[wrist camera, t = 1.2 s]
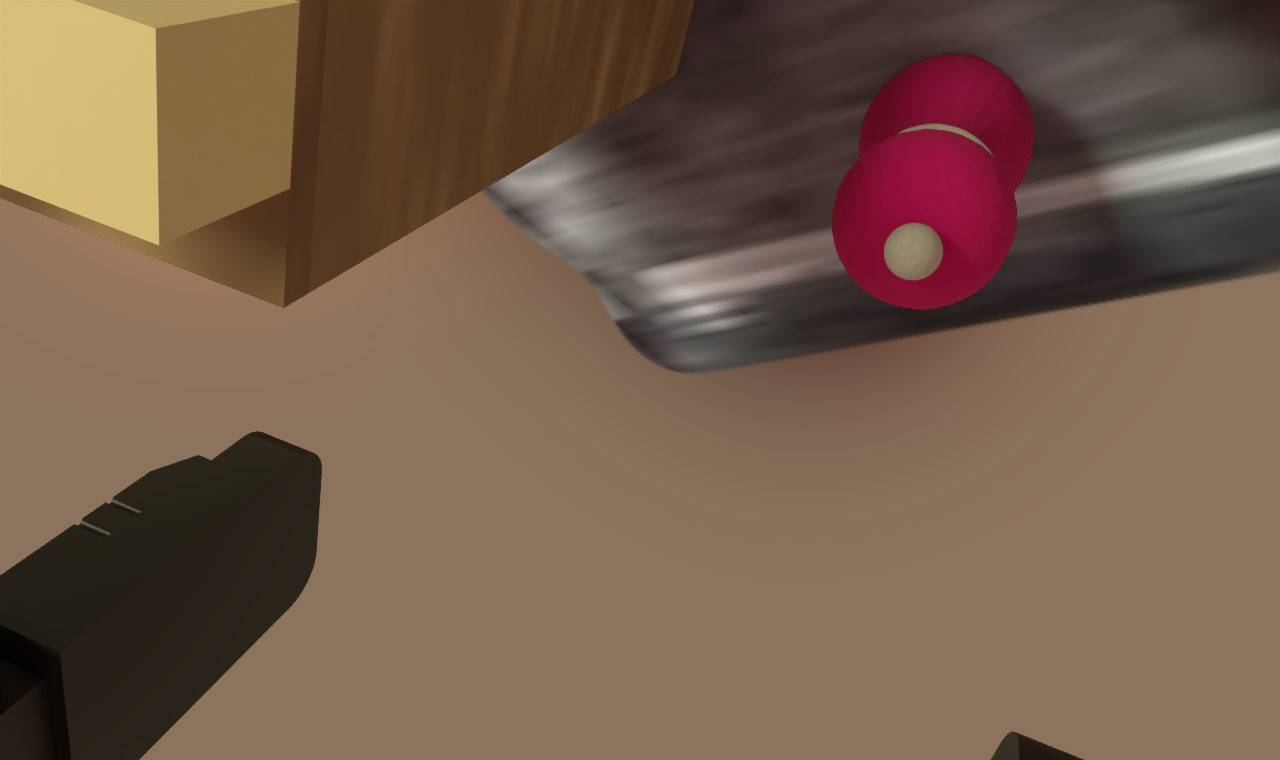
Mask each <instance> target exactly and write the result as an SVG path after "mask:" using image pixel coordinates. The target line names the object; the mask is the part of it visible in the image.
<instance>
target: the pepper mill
mask: <svg viewBox="0 0 1280 760" xmlns="http://www.w3.org/2000/svg"><path fill="white" fill-rule="evenodd" d="M1033 144H1034V126H1033V120H1032V115H1031V112H1030V109H1029V106H1028V104H1027V101H1026V99H1025V98H1024V96H1023V94H1022V93H1021V91H1020V89H1019V88H1018V87H1017V86H1016V85H1015V84H1014V82H1013V81H1012V80H1011V79H1010V78H1009V77H1007V76H1006V75H1005V74H1004V73H1003V72H1002V71H1001V70H1000V69H999V68H998V67H996V66H995V65H993V64H992V63H990V62H988V61H986V60H984V59H981V58H979V57H976V56H973V55H966V54H946V55H941V56H937V57H933V58H930V59H926V60H924V61H921V62H918V63H915V64H913V65H911V66H909V67H907V68H906V69H904V70H903V71H901V72H899V73H898V74H896V75H895V76H894V77H893V78H892V79H890V80H889V81H888V82H887V83H886V84H885V85H884V86H883V87H882V89H881V90H880V91H879V92H878V93H877V95H876V96H875V98H874V99H873V101H872V103H871V104H870V106H869V109H868V111H867V113H866V116H865V118H864V122H863V126H862V129H861V135H860V142H859V156H860V157H859V158H858V160H857V161H856V162H855V163H854V165H853V166H852V167H851V169H850V170H849V171H848V173H847V174H846V175H845V177H844V179H843V181H842V183H841V185H840V187H839V189H838V192H837V195H836V199H835V202H834V209H833V218H832V232H833V238H834V244H835V247H836V250H837V253H838V256H839V258H840V260H841V262H842V264H843V266H844V267H845V269H846V271H847V273H848V274H849V275H850V277H851V278H852V279H853V280H854V281H855V282H856V283H857V284H858V285H859V286H860V288H862V289H863V290H865V291H866V292H868V293H869V294H871V295H872V296H874V297H875V298H877V299H879V300H881V301H883V302H886V303H888V304H891V305H895V306H898V307H902V308H910V309H921V310H922V309H932V308H938V307H942V306H946V305H950V304H953V303H956V302H958V301H961V300H963V299H965V298H967V297H969V296H971V295H972V294H974V293H975V292H977V291H978V290H979V289H980V288H982V287H983V286H984V285H985V284H987V283H988V282H989V281H990V280H991V278H992V277H993V276H994V275H995V274H996V273H997V271H998V270H999V269H1000V267H1001V266H1002V264H1003V262H1004V260H1005V258H1006V256H1007V254H1008V253H1009V250H1010V248H1011V245H1012V242H1013V240H1014V236H1015V231H1016V226H1017V207H1016V202H1015V197H1014V192H1015V190H1016V189H1017V187H1018V186H1019V184H1020V182H1021V181H1022V179H1023V178H1024V176H1025V173H1026V170H1027V167H1028V164H1029V161H1030V158H1031V155H1032V150H1033Z"/></svg>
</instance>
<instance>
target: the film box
mask: <svg viewBox="0 0 1280 760" xmlns="http://www.w3.org/2000/svg"><path fill="white" fill-rule="evenodd" d="M299 9H300V2H298V1H295V0H0V184H1V185H3V186H6V187H8V188H11V189H14V190H16V191H19V192H21V193H24V194H27V195H29V196H32V197H34V198H37V199H40V200H42V201H45V202H47V203H50V204H53V205H55V206H58V207H60V208H63V209H66V210H68V211H71V212H73V213H76V214H79V215H81V216H84V217H86V218H89V219H92V220H94V221H97V222H99V223H102V224H104V225H107V226H110V227H112V228H115V229H117V230H120V231H123V232H125V233H128V234H130V235H133V236H136V237H138V238H141V239H143V240H146V241H149V242H151V243H154V244H156V245H162V244H164V243H166V242H168V241H171V240H173V239H175V238H178V237H180V236H182V235H185V234H187V233H189V232H191V231H194V230H196V229H198V228H201V227H203V226H205V225H208V224H210V223H212V222H214V221H217V220H219V219H221V218H224V217H226V216H228V215H230V214H233V213H235V212H237V211H240V210H242V209H244V208H247V207H249V206H251V205H253V204H256V203H258V202H260V201H263V200H265V199H267V198H270V197H272V196H274V195H276V194H279V193H281V192H283V191H286V190H288V189H290V179H291V161H292V142H293V123H294V104H295V85H296V66H297V47H298V28H299Z"/></svg>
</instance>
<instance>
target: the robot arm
mask: <svg viewBox="0 0 1280 760" xmlns="http://www.w3.org/2000/svg"><path fill="white" fill-rule="evenodd" d="M321 476H322V465H321V461H320V458H319V457H318V456H317V455H316V454H315V453H312V452H310V451H307V450H305V449H302V448H300V447H298V446H295V445H292V444H290V443H288V442H285V441H283V440H280V439H278V438H275V437H273V436H270V435H268V434H265V433H263V432H258V431H257V432H252V433H249V434H247V435H246V436H244V437H243V438H241V439H240V440H239V441H237V442H236V443H235V444H233V445H232V446H230V447H229V448H228V449H226V450H225V451H224V452H222V453H221V454H219V455H218V456H217V457H215V458H214V459H213V460H209V459H206V458H204V457H202V456H199V455H197V456H194V457H191V458H189V459H185V460H182V461H179V462H177V463H174V464H171V465H168V466H165V467H162V468H159V469H156V470H153V471H150V472H149V473H147V474H146V475H145V476H144V477H142V478H140V479H139V480H137V481H136V482H134V483H133V484H132V485H130V486H129V487H127V488H126V489H124V490H123V491H121V492H120V493H119V494H117V495H116V496H114V497H113V500H112V502H111V503H110V504H108V503H104V504H103V505H101V506H100V507H98V508H97V509H96V510H94V511H93V512H91V513H90V514H88V515H87V516H85V517H84V518H83V519H82V522H81V524H80V525H78V526H77V525H75V524H74V525H72V526H71V527H70V528H68V529H67V530H65V531H64V532H62V533H61V534H59V535H58V536H57V537H55V538H54V539H52V540H51V541H49V542H48V543H46V544H45V545H44V546H42V547H41V548H40V549H38V550H36V551H35V552H33V553H32V554H31V555H29V556H28V557H26V558H25V559H23V560H22V561H20V562H19V563H18V564H16V565H15V566H13V567H12V568H10V569H9V570H7V571H6V572H5V573H4V574H2V575H0V760H139V759H140V758H141V757H142V756H143V755H144V754H145V753H146V752H147V751H148V750H149V749H150V748H151V747H152V746H153V745H154V744H155V743H156V742H157V741H158V740H159V739H160V738H161V737H162V736H163V735H164V734H165V733H166V732H167V731H168V730H169V729H170V728H171V727H172V726H173V725H174V724H175V723H176V722H177V721H178V720H179V719H180V718H181V717H182V716H183V715H184V714H185V713H186V712H187V711H188V710H189V709H190V708H191V707H192V706H193V705H194V704H195V703H196V702H197V701H198V700H199V699H200V698H201V697H202V696H203V695H204V694H205V693H206V691H208V689H210V688H211V687H212V686H213V685H214V684H215V683H216V682H217V681H218V680H219V678H221V677H222V675H224V673H225V672H226V671H227V670H228V669H229V668H230V667H231V666H232V665H233V664H234V663H235V662H236V661H237V660H238V659H239V658H240V657H241V656H242V655H243V654H244V653H245V652H246V651H247V650H248V649H249V648H250V647H251V646H252V645H253V644H254V643H255V642H256V641H257V640H258V639H259V638H260V637H261V636H262V635H263V634H264V633H265V632H266V631H267V630H268V629H269V628H270V627H271V626H272V625H273V624H274V623H275V622H276V621H277V620H278V619H279V618H280V617H281V616H282V615H283V614H284V613H285V612H286V611H287V610H288V609H289V608H290V607H291V606H292V604H293V603H294V602H295V601H296V600H297V598H298V597H299V595H300V594H301V592H302V591H303V589H304V587H305V586H306V584H307V582H308V579H309V577H310V575H311V572H312V569H313V567H314V563H315V558H316V551H317V537H318V521H319V506H320V491H321V490H320V489H321ZM991 760H1083V759H1081V758H1078V757H1076V756H1073V755H1071V754H1068V753H1066V752H1063V751H1061V750H1058V749H1056V748H1053V747H1051V746H1048V745H1046V744H1043V743H1041V742H1038V741H1036V740H1033V739H1031V738H1029V737H1026V736H1023V735H1021V734H1019V733H1016V732H1010V733H1009V734H1007V736H1005V738H1004V739H1003V740H1002V742H1001V743H1000V745H999V747H998V749H997V750H996V752H995V754H994V756H993V757H992V759H991Z"/></svg>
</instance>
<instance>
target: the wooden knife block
mask: <svg viewBox="0 0 1280 760" xmlns="http://www.w3.org/2000/svg"><path fill="white" fill-rule="evenodd" d="M295 1H298V2H300V9H299V28H298V47H297V66H296V85H295V104H294V123H293V142H292V161H291V179H290V189H288V190H286V191H283V192H281V193H279V194H276V195H274V196H272V197H270V198H267V199H265V200H263V201H260V202H258V203H256V204H253V205H251V206H249V207H247V208H244V209H242V210H240V211H237V212H235V213H233V214H230V215H228V216H226V217H224V218H221V219H219V220H217V221H214V222H212V223H210V224H208V225H205V226H203V227H201V228H198V229H196V230H194V231H191V232H189V233H187V234H185V235H182V236H180V237H178V238H175V239H173V240H171V241H168V242H166V243H164V244H162V245H156V244H154V243H151V242H149V241H146V240H143V239H141V238H138V237H136V236H133V235H130V234H128V233H125V232H123V231H120V230H117V229H115V228H112V227H110V226H107V225H104V224H102V223H99V222H97V221H94V220H92V219H89V218H86V217H84V216H81V215H79V214H76V213H73V212H71V211H68V210H66V209H63V208H60V207H58V206H55V205H53V204H50V203H47V202H45V201H42V200H40V199H37V198H34V197H32V196H29V195H27V194H24V193H21V192H19V191H16V190H14V189H11V188H8V187H6V186H3V185H1V184H0V198H1V199H4V200H7V201H9V202H12V203H14V204H17V205H19V206H22V207H25V208H28V209H30V210H32V211H35V212H38V213H40V214H43V215H46V216H48V217H50V218H53V219H56V220H58V221H61V222H63V223H66V224H68V225H71V226H74V227H76V228H79V229H81V230H84V231H87V232H89V233H92V234H94V235H97V236H100V237H102V238H105V239H107V240H110V241H112V242H115V243H118V244H120V245H123V246H125V247H128V248H130V249H133V250H135V251H138V252H141V253H143V254H146V255H148V256H151V257H153V258H156V259H159V260H161V261H164V262H166V263H169V264H172V265H174V266H177V267H179V268H182V269H184V270H187V271H190V272H192V273H195V274H197V275H200V276H202V277H205V278H208V279H211V280H213V281H215V282H218V283H220V284H223V285H226V286H228V287H231V288H233V289H236V290H239V291H241V292H244V293H246V294H249V295H251V296H254V297H257V298H259V299H262V300H264V301H267V302H269V303H272V304H275V305H277V306H280V307H282V308H284V307H286V306H288V305H289V304H291V303H293V302H295V301H296V300H298V299H299V298H301V297H303V296H305V295H306V294H308V293H310V292H311V291H313V290H315V289H316V288H318V287H320V286H321V285H323V284H325V283H327V282H328V281H330V280H331V279H333V278H335V277H337V276H338V275H340V274H342V273H343V272H345V271H347V270H348V269H350V268H351V267H354V266H355V265H357V264H359V263H360V262H362V261H364V260H365V259H367V258H369V257H370V256H372V255H374V254H375V253H377V252H379V251H380V250H382V249H384V248H386V247H387V246H389V245H391V244H392V243H394V242H396V241H397V240H399V239H401V238H402V237H404V236H406V235H408V234H409V233H411V232H413V231H414V230H416V229H417V228H419V227H421V226H423V225H424V224H426V223H428V222H429V221H431V220H433V219H435V218H436V217H437V216H439V215H441V214H443V213H445V212H446V211H448V210H450V209H451V208H453V207H455V206H456V205H458V204H460V203H461V202H463V201H465V200H467V199H468V198H470V197H471V196H473V195H475V194H477V193H478V192H480V191H482V190H483V189H485V188H487V187H488V186H490V185H492V184H494V183H495V182H497V181H499V180H500V179H502V178H504V177H505V176H507V175H509V174H510V173H512V172H514V171H515V170H517V169H519V168H521V167H522V166H524V165H526V164H527V163H529V162H531V161H532V160H534V159H536V158H537V157H539V156H541V155H542V154H544V153H546V152H548V151H549V150H551V149H553V148H554V147H556V146H558V145H559V144H561V143H563V142H564V141H566V140H568V139H569V138H571V137H573V136H574V135H576V134H578V133H580V132H581V131H583V130H585V129H586V128H588V127H590V126H591V125H593V124H595V123H596V122H598V121H600V120H601V119H603V118H605V117H607V116H608V115H610V114H612V113H613V112H615V111H617V110H618V109H620V108H622V107H623V106H625V105H627V104H628V103H630V102H632V101H634V100H635V99H637V98H639V97H640V96H642V95H644V94H645V93H647V92H649V91H650V90H652V89H654V88H655V87H657V86H659V85H661V84H662V83H664V82H666V81H667V80H669V79H671V78H672V77H674V76H676V75H677V73H678V68H679V64H680V60H681V56H682V52H683V48H684V44H685V39H686V35H687V31H688V27H689V23H690V19H691V15H692V11H693V6H694V2H695V0H295Z"/></svg>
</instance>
